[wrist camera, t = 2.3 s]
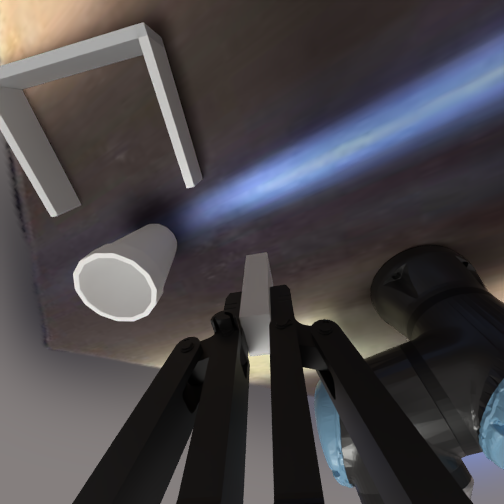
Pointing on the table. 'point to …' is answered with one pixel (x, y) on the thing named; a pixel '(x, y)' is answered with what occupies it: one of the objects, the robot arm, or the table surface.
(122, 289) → the foam cup
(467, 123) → the table surface
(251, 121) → the table surface
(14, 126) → the box
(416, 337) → the robot arm
